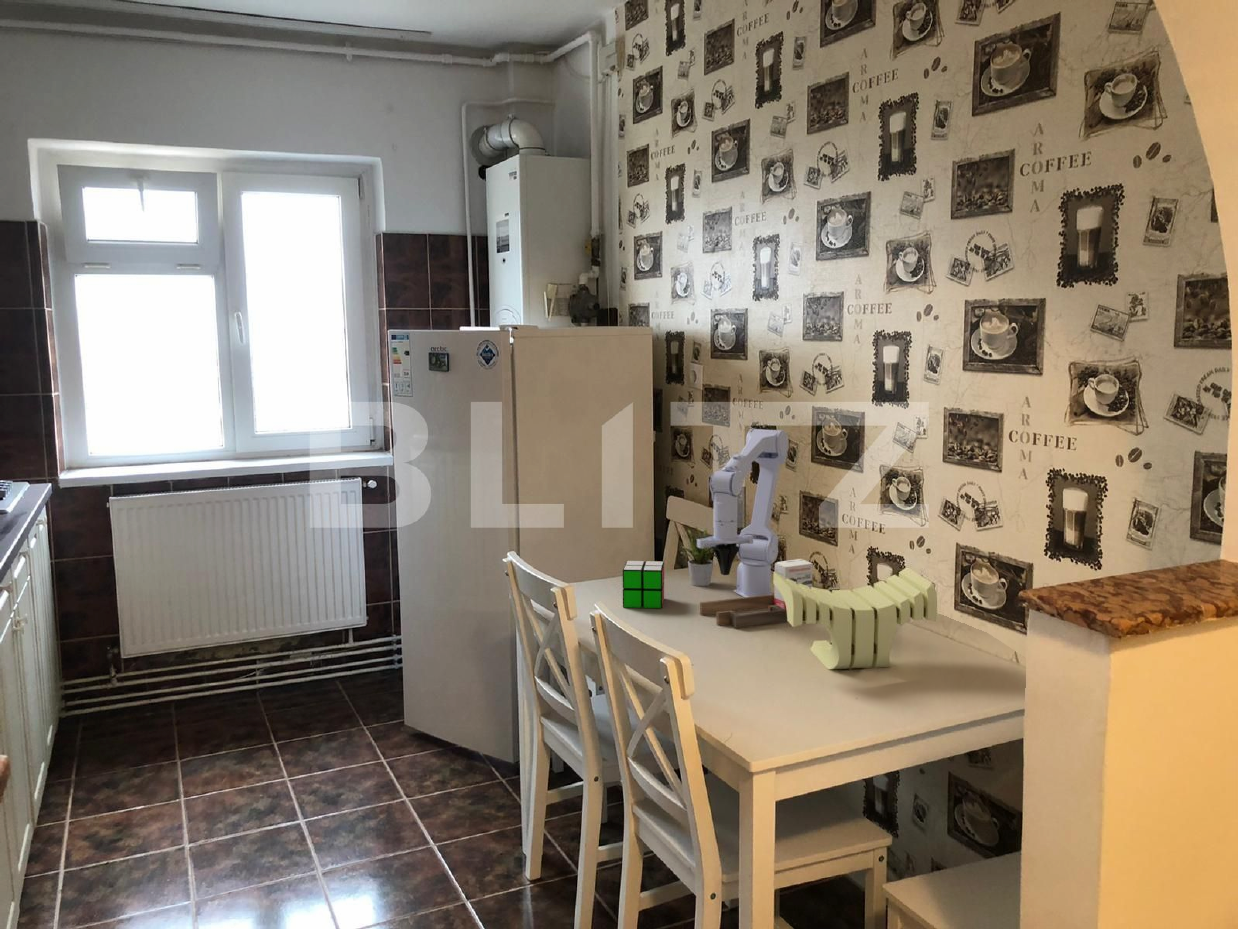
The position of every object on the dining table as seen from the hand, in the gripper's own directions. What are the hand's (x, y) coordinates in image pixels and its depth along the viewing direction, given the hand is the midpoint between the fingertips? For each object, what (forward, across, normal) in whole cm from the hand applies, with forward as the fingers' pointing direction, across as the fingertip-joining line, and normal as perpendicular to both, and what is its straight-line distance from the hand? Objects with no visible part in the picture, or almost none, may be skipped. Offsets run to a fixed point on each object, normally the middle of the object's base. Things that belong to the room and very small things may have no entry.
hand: (724, 574), depth 243 cm
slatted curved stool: (+10, +9, -41) cm, 43 cm away
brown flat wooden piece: (+10, +10, -6) cm, 15 cm away
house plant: (+10, +8, +27) cm, 30 cm away
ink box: (+10, +18, -2) cm, 21 cm away
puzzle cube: (+10, -15, +16) cm, 24 cm away
